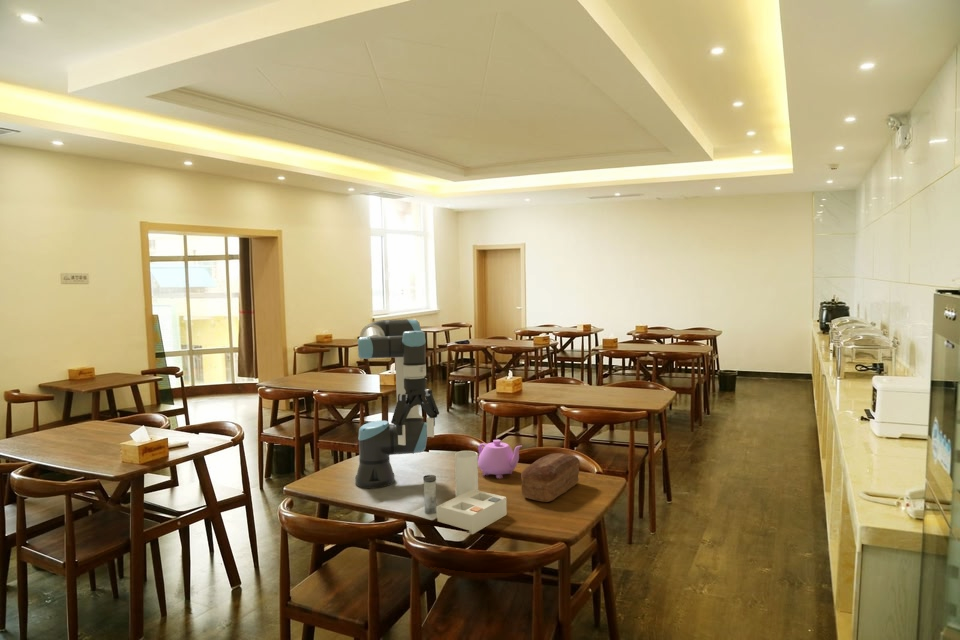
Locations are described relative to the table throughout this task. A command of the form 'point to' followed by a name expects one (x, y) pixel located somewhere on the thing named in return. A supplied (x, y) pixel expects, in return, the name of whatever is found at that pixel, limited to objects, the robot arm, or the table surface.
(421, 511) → the white flat square plate
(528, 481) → the bread
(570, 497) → the table surface
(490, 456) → the teapot
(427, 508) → the plug
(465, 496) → the socket block
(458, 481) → the cup
